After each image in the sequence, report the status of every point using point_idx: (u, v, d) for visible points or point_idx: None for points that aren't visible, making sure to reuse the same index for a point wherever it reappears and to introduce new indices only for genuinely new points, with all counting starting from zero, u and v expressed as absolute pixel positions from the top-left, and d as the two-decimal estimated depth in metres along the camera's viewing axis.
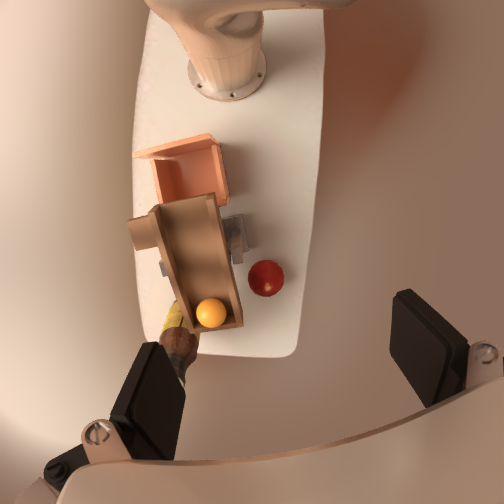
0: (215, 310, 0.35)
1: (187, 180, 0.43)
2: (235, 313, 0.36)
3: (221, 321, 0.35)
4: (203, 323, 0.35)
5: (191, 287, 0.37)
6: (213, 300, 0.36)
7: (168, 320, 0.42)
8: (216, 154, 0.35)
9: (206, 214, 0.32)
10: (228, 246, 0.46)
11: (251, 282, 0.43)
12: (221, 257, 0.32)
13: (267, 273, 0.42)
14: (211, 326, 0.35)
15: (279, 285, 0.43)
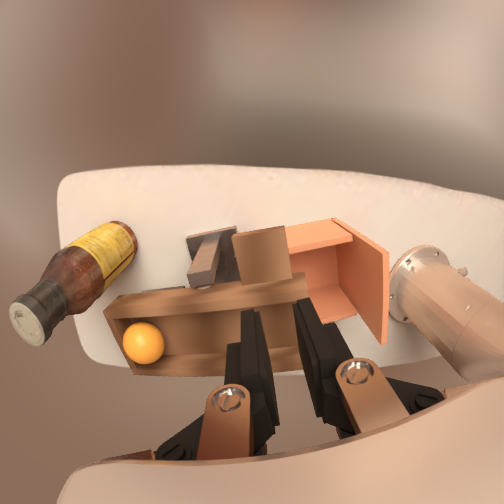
0: (153, 359, 0.22)
1: None
2: (151, 371, 0.24)
3: (138, 362, 0.22)
4: (129, 344, 0.21)
5: None
6: (163, 347, 0.23)
7: (106, 248, 0.26)
8: (345, 316, 0.29)
9: (287, 341, 0.24)
10: None
11: None
12: None
13: None
14: (127, 353, 0.22)
15: None
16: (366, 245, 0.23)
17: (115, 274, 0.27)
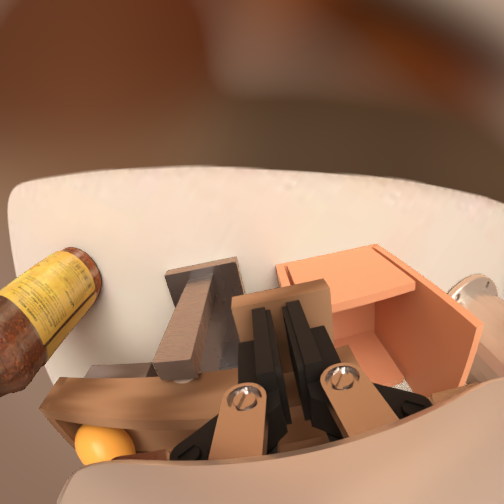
0: None
1: None
2: None
3: None
4: (85, 458, 0.10)
5: None
6: None
7: (47, 296, 0.15)
8: (389, 386, 0.18)
9: (314, 432, 0.14)
10: (209, 358, 0.25)
11: None
12: None
13: None
14: None
15: None
16: (442, 303, 0.13)
17: (65, 331, 0.16)
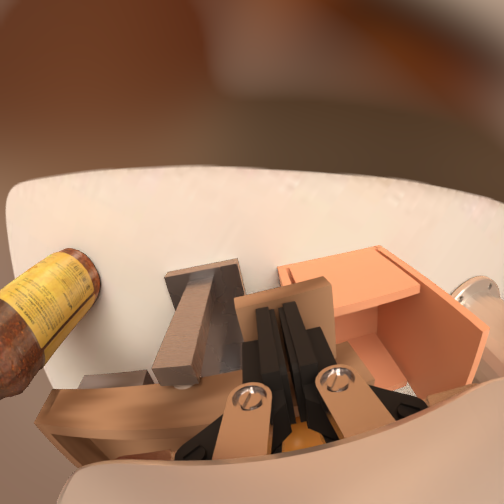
0: None
1: None
2: None
3: None
4: None
5: None
6: None
7: (44, 298, 0.15)
8: (391, 389, 0.18)
9: None
10: (209, 361, 0.24)
11: None
12: None
13: None
14: None
15: None
16: (447, 307, 0.12)
17: (63, 333, 0.16)
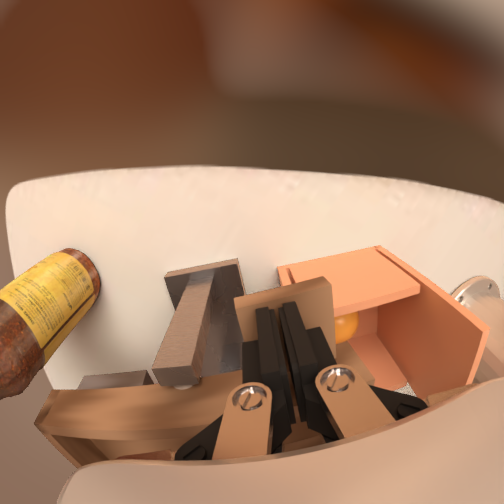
0: None
1: None
2: None
3: (336, 343, 0.21)
4: (340, 320, 0.20)
5: None
6: None
7: (44, 298, 0.15)
8: (392, 389, 0.18)
9: None
10: (209, 361, 0.24)
11: None
12: None
13: None
14: None
15: None
16: (447, 307, 0.12)
17: (63, 333, 0.16)
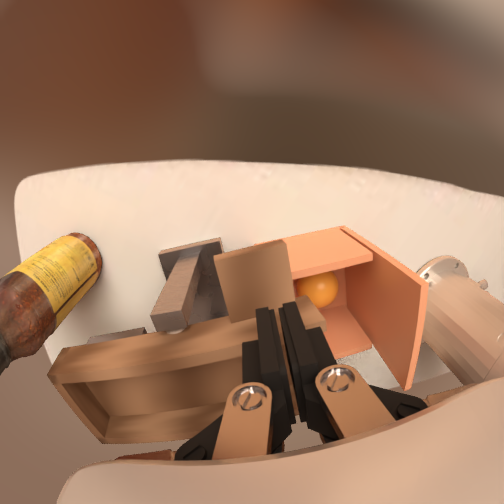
0: None
1: None
2: (123, 439, 0.15)
3: (328, 304, 0.25)
4: (331, 281, 0.24)
5: None
6: None
7: (57, 271, 0.18)
8: (358, 351, 0.22)
9: None
10: None
11: None
12: None
13: None
14: (330, 293, 0.24)
15: None
16: (394, 269, 0.17)
17: (71, 303, 0.20)
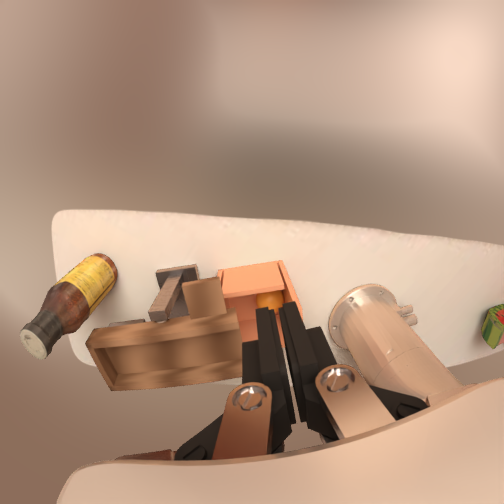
0: None
1: None
2: (125, 386, 0.28)
3: None
4: (281, 292, 0.38)
5: None
6: None
7: (91, 282, 0.31)
8: None
9: (226, 357, 0.32)
10: None
11: None
12: (189, 381, 0.29)
13: None
14: (283, 299, 0.38)
15: None
16: (290, 297, 0.30)
17: (98, 301, 0.33)
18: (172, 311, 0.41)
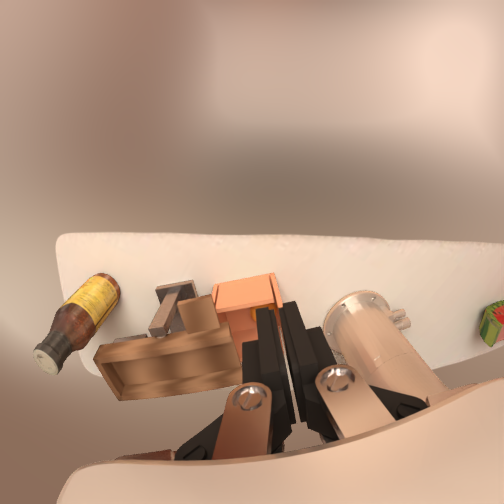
0: None
1: None
2: (131, 396, 0.31)
3: None
4: (273, 303, 0.40)
5: None
6: None
7: (95, 301, 0.34)
8: None
9: (222, 366, 0.34)
10: None
11: None
12: (190, 390, 0.31)
13: None
14: (275, 310, 0.40)
15: None
16: None
17: (103, 319, 0.35)
18: (173, 324, 0.43)
